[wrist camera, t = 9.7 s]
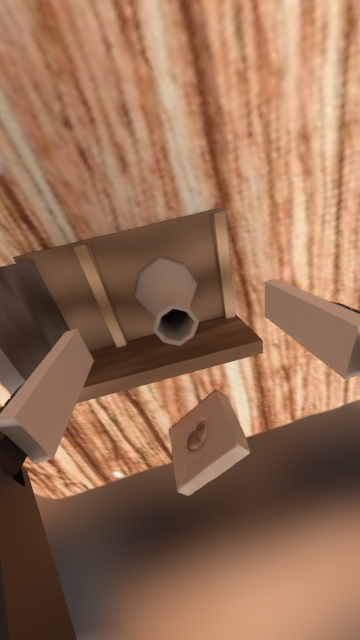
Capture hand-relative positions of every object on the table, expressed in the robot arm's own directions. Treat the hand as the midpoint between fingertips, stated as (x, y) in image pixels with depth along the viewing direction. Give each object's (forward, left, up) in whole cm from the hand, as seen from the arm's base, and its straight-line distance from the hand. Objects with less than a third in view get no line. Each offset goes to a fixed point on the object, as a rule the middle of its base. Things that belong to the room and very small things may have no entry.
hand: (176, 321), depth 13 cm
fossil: (+24, 0, -12) cm, 27 cm away
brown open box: (0, -3, -11) cm, 12 cm away
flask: (0, 0, -10) cm, 10 cm away
